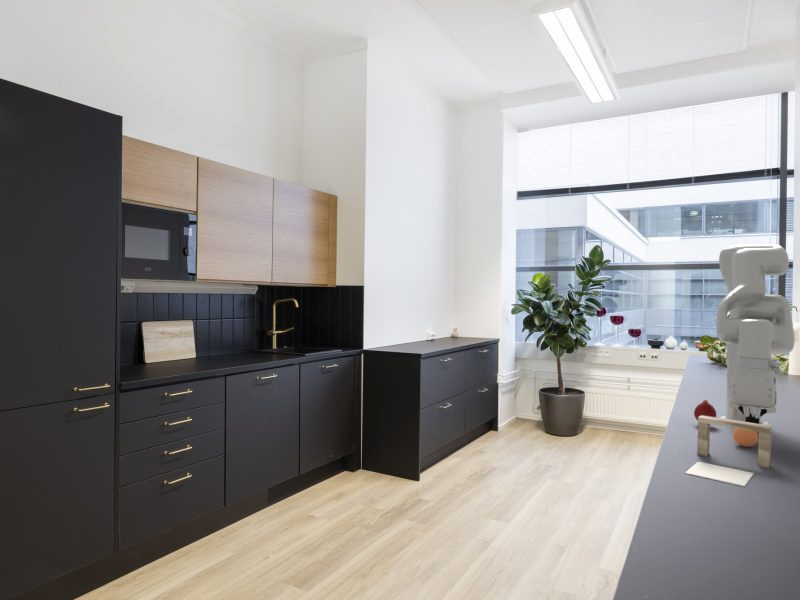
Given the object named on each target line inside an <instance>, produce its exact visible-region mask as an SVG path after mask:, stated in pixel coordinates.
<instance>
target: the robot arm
mask: <svg viewBox="0 0 800 600" xmlns="http://www.w3.org/2000/svg"><path fill="white" fill-rule="evenodd" d="M718 262H719V263H718V264H719V270H720V273H721V277H722V279H723V281H724V283H725V285H726V287H727V291H728V294H726V295H725V296H724V297H723V299H722V300H721V301H720V303H719V305H718V307H717V310H716V316H715V317H716V325H715V326H716V336H717V338H718V340H719V341H720V342H722V343H725V347H726V359H727V360H726V363H727V364H726V392H725V393H726V394H725V396H726V397H725V415H723V416H722V415H721V416H720V417H719V418H723V419H729V420H736V421H742V422H749V423H756V424H762V425H769V423H768V422H767V421H766V420H763V416H765V414H776V413H777V412H778V409H777V399H778V398H777V391H778V390H777V379H776V378H777V377H776V374H775V371H774V370H771V369H772V368H777V367H778V362H777V361H773V360H772V355H788V354H790V353H791V352H792V351H793V349H794V346H795V331H794V324H793V316H792V315H793V314H792V309H791V304H790V302H789V300H788V299H787V298H786V297H785V296H783V295H779V294H767V281H766V276H784V275H785V274H786V273H787V272H788V269H789V266H790V259H789V254H788V252H787V251H786V249H785V248H784V247H783V246H781V245H780V244H777V243H775V244H772V243H770V244H768V243H767V244H761V243H760V244H735V245H729V246H727V247H724V248H722V250H720V252H719V257H718ZM728 313H729V316H730V317H729V316H728Z"/></svg>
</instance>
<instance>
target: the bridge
mask: <svg viewBox="0 0 800 600" xmlns="http://www.w3.org/2000/svg"><path fill="white" fill-rule="evenodd" d="M711 425H716V426H719V427H720V426H722V427H725V428H726V427H727V428H732V429H735V428H739V429H745V430H751V431H756V432H757V433H758V446H757V447H758V450H757V452H758V453H757V467H758V468H759V467H760V468H764V469H769V468H770V467H771V459H772V458H771V457H772V455H771V454H772V453H771V452H772V430H773V429H772V427H773V426H772V425H769V424H768V425H762V424H756V423H749V422H742V421H736V420H729V419H723V418H720V417H717V416H716V417H710V416H703V415H701V416H699V417H698V421H697V443H696V444H697V447H696V448H697V449H696V454H697V455H699V456H703V457H707V456H708V455H710V442H711V440H710V439H711V438H710V437H711Z"/></svg>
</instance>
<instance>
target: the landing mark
mask: <svg viewBox="0 0 800 600" xmlns="http://www.w3.org/2000/svg"><path fill="white" fill-rule="evenodd" d="M684 474H685V475H690V476H695V477H699V478H702V479H703V478H704V479H707V478H708V480H713V481H716V480H717V482H721V483H726V484H731V485H734V486H735V485H736V486H739V487H744V488H745V487H746V485H747V484H748V483H749V481H750V480H751V479H752V477H753V476H754V474H755V472H750V471H746V470H741V469H738V468H737V469H735V468H730V467H726V466H720V465H716V464H711V463H707V462H704V461H703V462H702V461H697V462H696V463H694V465H692V466H691V467H690V468H689V469H688V470H687V471H686V472H684Z"/></svg>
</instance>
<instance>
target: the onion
mask: <svg viewBox="0 0 800 600" xmlns="http://www.w3.org/2000/svg"><path fill="white" fill-rule="evenodd" d="M693 415H694V418H695V419H696V421H697V422H698V417H699V416H701V415H703V416H710V417H716V418H717V411H716V409H715V407H714V406H713V405H712V404H711V403H710V402H708V400H707V399H703V401H702V402H701V403H698V404H697V406H696V407H695V408H694V411H693Z"/></svg>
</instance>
